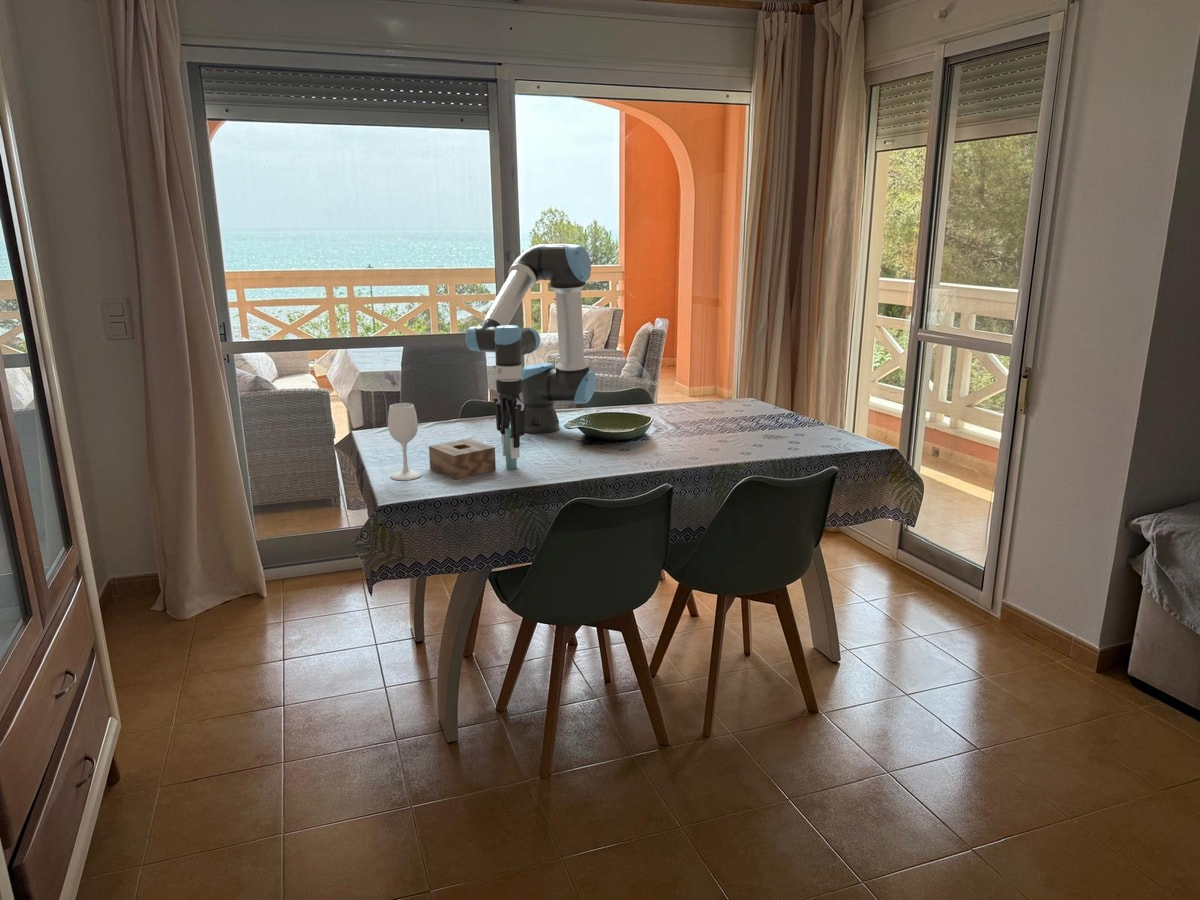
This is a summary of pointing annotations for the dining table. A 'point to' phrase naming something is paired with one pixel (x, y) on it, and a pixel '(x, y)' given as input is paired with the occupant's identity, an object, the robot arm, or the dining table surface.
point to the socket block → (462, 458)
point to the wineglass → (403, 434)
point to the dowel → (509, 462)
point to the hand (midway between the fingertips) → (511, 456)
